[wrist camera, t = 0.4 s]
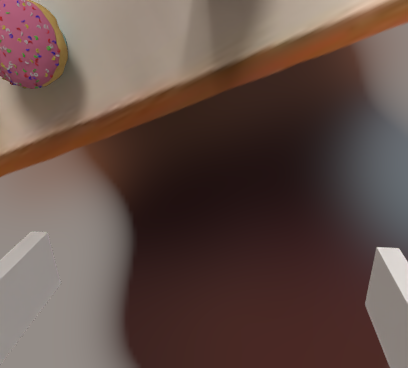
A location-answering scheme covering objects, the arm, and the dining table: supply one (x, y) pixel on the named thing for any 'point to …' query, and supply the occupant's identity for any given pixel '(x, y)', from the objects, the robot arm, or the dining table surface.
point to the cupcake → (30, 44)
